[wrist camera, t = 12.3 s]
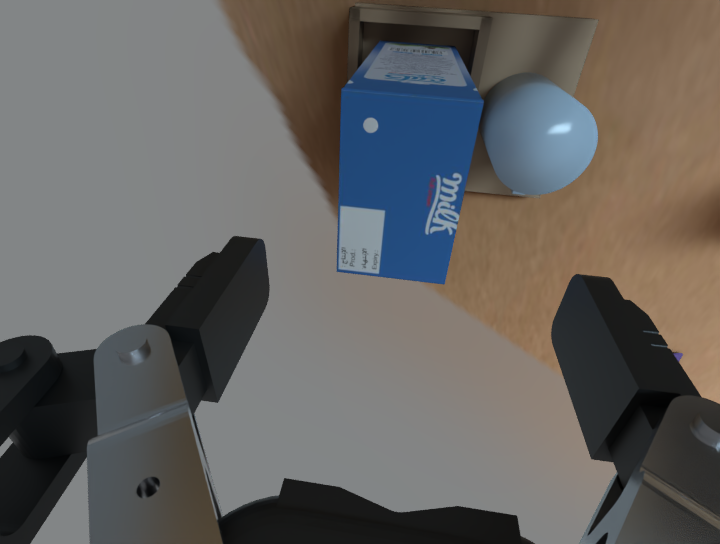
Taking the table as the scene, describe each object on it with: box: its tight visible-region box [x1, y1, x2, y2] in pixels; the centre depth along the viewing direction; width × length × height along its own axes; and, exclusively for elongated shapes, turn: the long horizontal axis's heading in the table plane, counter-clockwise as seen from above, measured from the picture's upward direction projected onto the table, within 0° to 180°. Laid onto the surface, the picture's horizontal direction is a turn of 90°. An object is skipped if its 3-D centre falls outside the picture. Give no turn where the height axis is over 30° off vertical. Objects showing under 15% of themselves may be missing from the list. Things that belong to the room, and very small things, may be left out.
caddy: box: [347, 3, 598, 198], centre depth 36 cm, size 19×15×4 cm
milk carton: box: [337, 40, 484, 284], centre depth 29 cm, size 10×6×20 cm, turn 176°
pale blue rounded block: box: [479, 72, 598, 195], centre depth 33 cm, size 7×8×9 cm
